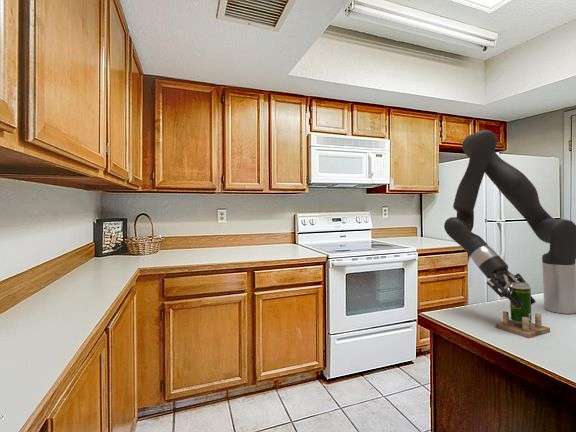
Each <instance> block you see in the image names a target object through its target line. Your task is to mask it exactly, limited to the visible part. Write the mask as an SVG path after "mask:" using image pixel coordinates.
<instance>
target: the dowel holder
mask: <svg viewBox="0 0 576 432" xmlns="http://www.w3.org/2000/svg"><path fill="white" fill-rule="evenodd" d="M542 323H543V322H542V314H541V313H534V322H531V323H530V324H529V318H528V317H522V324H519V323H515V322H513V321H512V320H511V319H510V316H509V311H506V310H504V311H502V321H499V322H497V323H495V328H497V329H500V330H503V331H506V332H509V333H512V334H515V335H518V336H522V337H524V338H527V339H531V338H533V337H537V336H538V337H539V336H541V335H544V334H547V333H550V332H551V328H550V327H548V326H544V325H543V324H542Z"/></svg>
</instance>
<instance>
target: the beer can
mask: <svg viewBox="0 0 576 432" xmlns="http://www.w3.org/2000/svg"><path fill="white" fill-rule="evenodd" d="M510 285H511V290H512V292H513V294H515V295H516V296H517V298H518V299H519V300H520V301H521V302H522V303H523V306H521V307H520V308H516V307H515V306H514V305H513V303H512V302H511V301H510V300H509V304H510V305H509V307H510V320H512V321H513V322H515V323H519V324H522V317H528V318H529V324H530V323H532V322H533V321H532V319H533V318H532V315H533V314H532V305H531V296H532V294H531V293H532V292H531V286H530V285H531V284H530V283H527V282H526V283H523V282H511V283H510Z"/></svg>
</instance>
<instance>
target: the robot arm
mask: <svg viewBox="0 0 576 432" xmlns="http://www.w3.org/2000/svg"><path fill="white" fill-rule="evenodd" d="M497 144H498V137H497V135H496V134H495V133H494V132H493V131H491V130H490V129H489V130H488V129H486V130H485V129H483V130H479V131H476V132H474V133H471V134H470V135H467V136H466V137H464V139H463V141H462V145H461V147H462V150H463V152H464V154H465V156H467V157H468V158H469V159H468V164H467V168H466V169H465V172H464V174H463V176H462V179H461V181H460V182H459V185H458V187H457V189H456V193H455V196H454V201H453V205H452V207H453V210H455V211H456V216H452V217H451V216H450V217H449V218H447V219H446V220H445V221H444V225H443V227H444V232H446V235H448V236H449V237H450V238H451V239H452V241H454V242H455V243H457V244H458V245H459V246H460V247H462V248H463V250H464V251H465V253H466V254H467V255H468V256H469V257H470V258H471V260H472V261H473V263H474V264H475V265H476V267H477V268H478V269H479V270H480V271H481V273H482V274H483V275H484V276H485V277H486V278H487V279H489V280H488V281H486V284H487V286H489V287H490V288H491V289H492V290H493V291H494V292H495V293H496V294H497V295H498V296H499V297H501V298H504V297H505V298H506V299H508V300H509V302H510V301H511V302H512V303H513V305H514V306H515V307H516V308H520V307H521V306H523V303H522V302H521V301H520V300H519V299H518V298H517V296H516V295H515V294H513V292H512V290H511V285H510V283H511V282H523V283H527V282H526V281H525V279H524V278H523V276H522V275H521V273H516V274H513V273H512V272H510V271H509V270H508V269H509V265H508V264H507V262H505V260H503V259H502V257H501V256H500V255H499V254H498V253H497V252H496V251H495V250H494V248H492V247H491V246H490V245H488V243H487V242H486V241H485V240H484V239H483V238H482V237H481V236H480V235H478V234H475V233H474V232H472V231H473V228H474V226H475V225H474V224H475V222H474V221H475V210H474V209H475V206H476V202H477V199H478V195H479V191H480V187H481V184H482V182H483V179H484V178H483V177H484V175H485V174H486V176H487V177H488V178H489V180H490V181H491V182H492V183H493V184H494V185H495V187H496V188H497V189H498V190H499V191H500V193H501V194H502V196H503V197H505V198H506V200H508V202H509V203H510V204H511V205H512V206H513V207H514V208H515V209H516V210H517V211H518V213H519V214H520V215H521V217H523V218H524V219H525V221H526V223H527V224H528V226H529V227H530V228H531V230H532V231H533V233H534V234H535V235H536V237H538V239H539V240H540V241H542V242H544V243H546V244H549V250H548V252H546V253H544V254H542V255H541V259H542V261H541V262H542V282H543V286H542V287H543V308H544V309H545V310H547V312H548V311H549V312H551V313H552V312H553V313H558V314H564V315H569V314H570V315H573V314H576V223H574V222H573V221H572V220H569V219H564V218H563V219H562V218H555V217H552V216H551V215H550V214H549V213H548V212H547V211H546V210H545V208H543V206H542V205H541V201H540V198H539V194H538V190H537V188H536V187H535V185H534V184H533V182H531V180H530V179H529V178H528V177H527V176H526V175H525V174H524V173H523V172H522V171H520V170H519V169H517V167H515V166H513V165H511V164H509V163H508V162H507V161H505V160H504V159H502V158H501V157H500V156H499V155H498V154H497V153H496V151H495V150H496V148H497ZM535 303H536V299H535V298H534V297H533V296H532V295H531V306H533V305H534V304H535Z"/></svg>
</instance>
